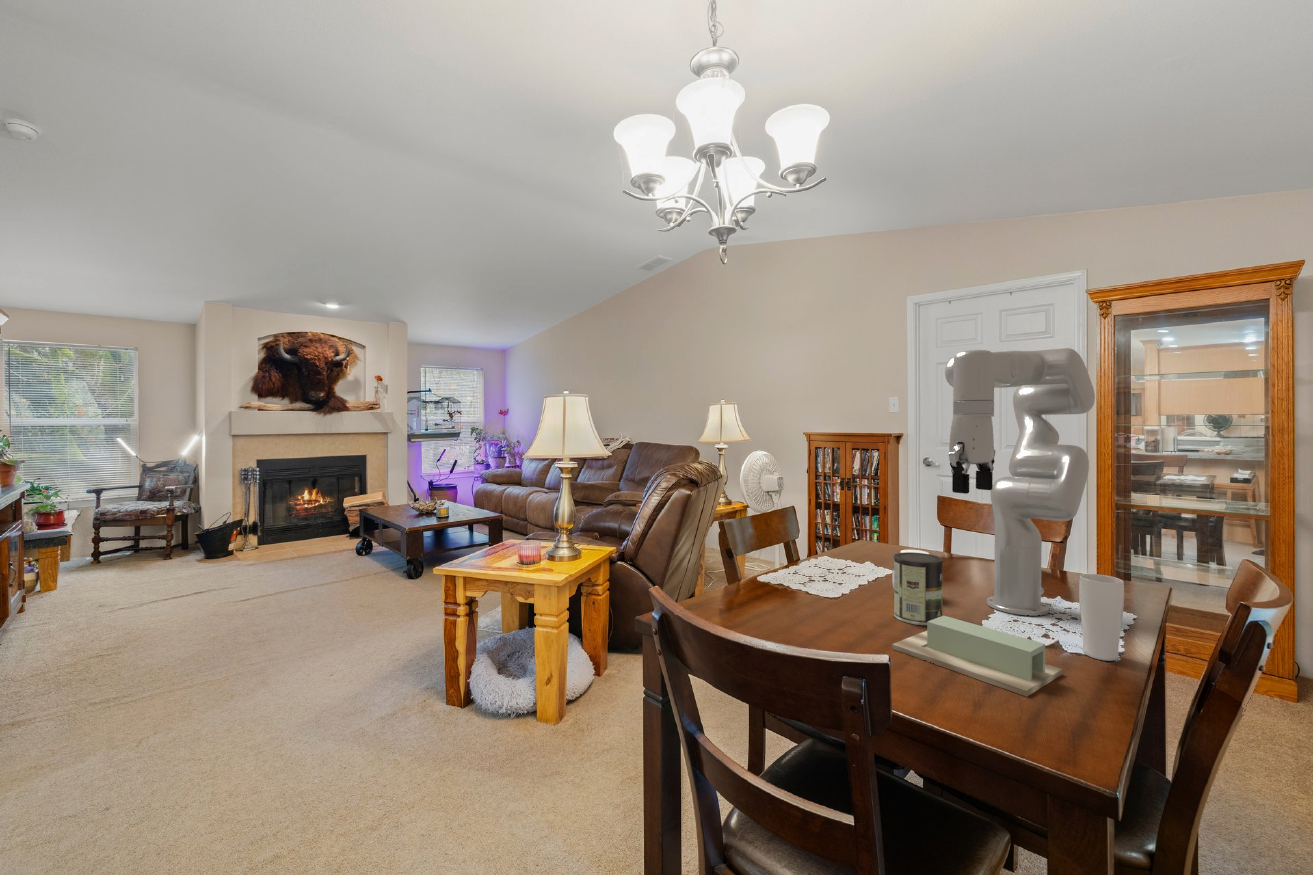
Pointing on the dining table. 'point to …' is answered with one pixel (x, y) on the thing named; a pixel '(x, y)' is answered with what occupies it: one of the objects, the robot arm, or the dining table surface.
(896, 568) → the coffee can
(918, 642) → the board
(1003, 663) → the long sage green beam
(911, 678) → the dining table surface
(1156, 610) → the dining table surface
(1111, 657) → the drinking glass
